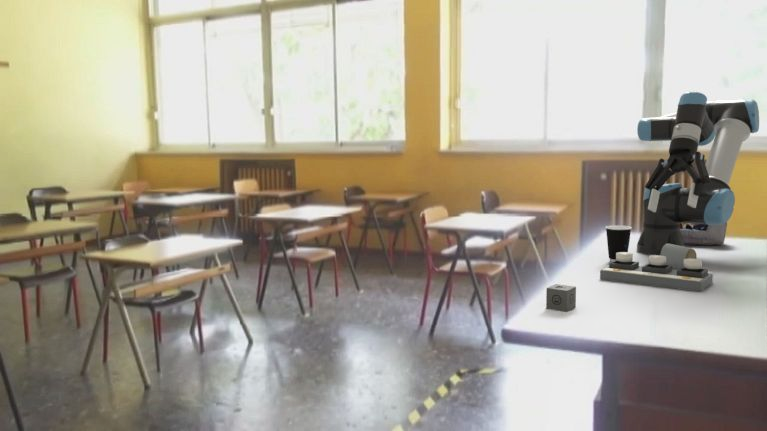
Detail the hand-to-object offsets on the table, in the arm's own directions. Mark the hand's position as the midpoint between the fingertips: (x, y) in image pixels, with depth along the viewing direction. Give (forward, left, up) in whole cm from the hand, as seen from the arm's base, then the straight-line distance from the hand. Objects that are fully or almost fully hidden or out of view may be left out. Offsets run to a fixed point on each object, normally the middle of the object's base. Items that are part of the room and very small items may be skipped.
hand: (670, 208), depth 185 cm
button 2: (+13, +9, -14) cm, 21 cm away
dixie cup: (-8, -18, -19) cm, 27 cm away
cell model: (-57, -7, -19) cm, 60 cm away
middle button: (+13, 0, -14) cm, 19 cm away
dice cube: (+55, -9, -19) cm, 59 cm away
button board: (+14, 0, -18) cm, 23 cm away
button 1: (+13, -9, -14) cm, 21 cm away
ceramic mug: (-5, +1, -19) cm, 20 cm away
